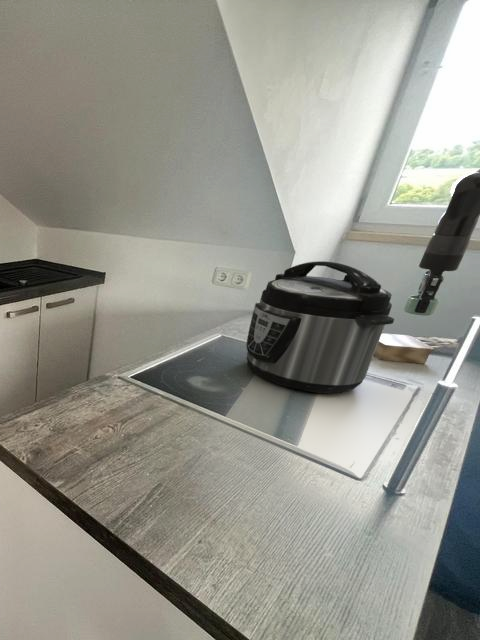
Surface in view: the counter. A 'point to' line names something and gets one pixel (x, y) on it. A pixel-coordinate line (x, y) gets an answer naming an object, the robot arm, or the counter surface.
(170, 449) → the counter surface
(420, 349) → the riser
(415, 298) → the bowl
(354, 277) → the pressure cooker
